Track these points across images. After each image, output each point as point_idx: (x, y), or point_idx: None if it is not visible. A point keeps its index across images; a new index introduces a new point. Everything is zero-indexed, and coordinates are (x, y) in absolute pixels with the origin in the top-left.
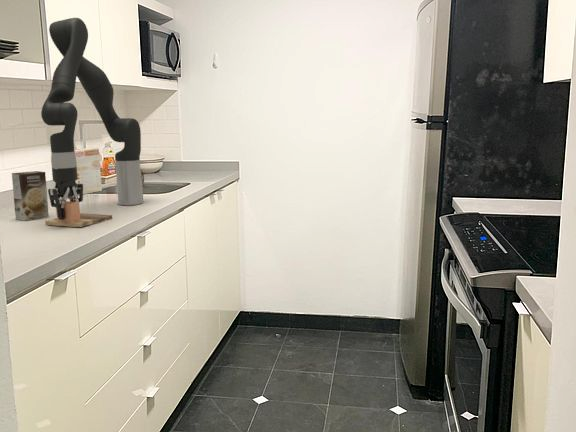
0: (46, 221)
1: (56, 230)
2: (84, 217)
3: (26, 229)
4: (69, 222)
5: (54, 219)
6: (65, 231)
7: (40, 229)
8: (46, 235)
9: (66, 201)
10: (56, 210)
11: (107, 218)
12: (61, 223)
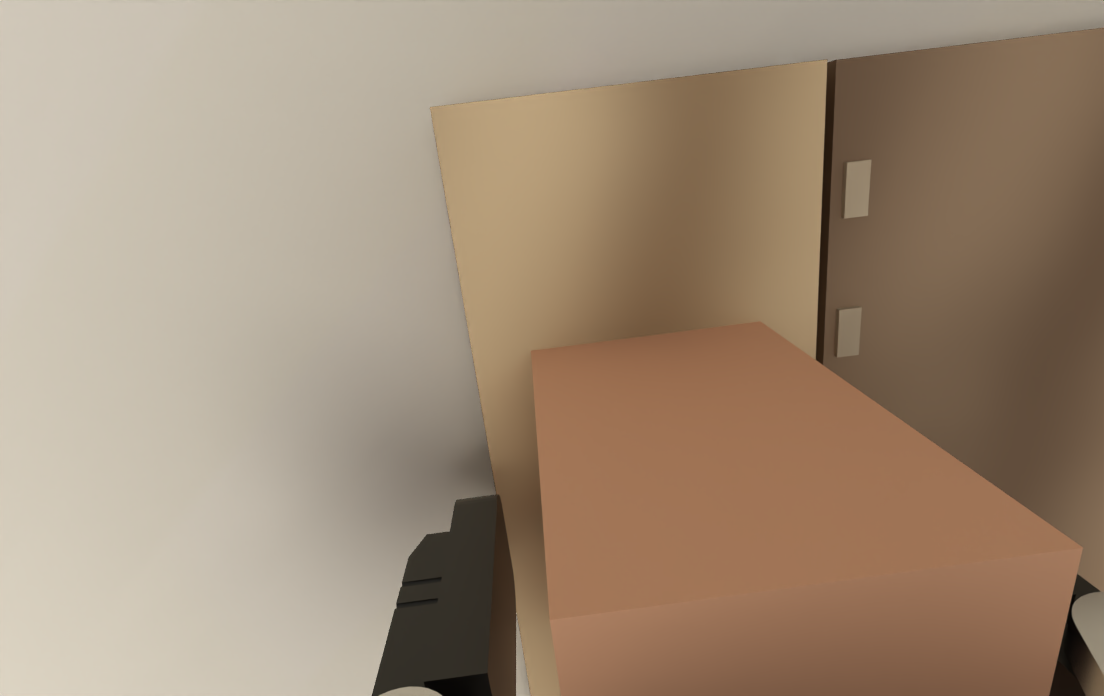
0: (438, 142)
1: (291, 559)
2: (1007, 449)
3: (29, 40)
4: (537, 601)
5: (644, 152)
6: (316, 689)
7: (194, 294)
8: (26, 672)
9: (998, 687)
10: (539, 461)
11: None
12: (495, 473)
